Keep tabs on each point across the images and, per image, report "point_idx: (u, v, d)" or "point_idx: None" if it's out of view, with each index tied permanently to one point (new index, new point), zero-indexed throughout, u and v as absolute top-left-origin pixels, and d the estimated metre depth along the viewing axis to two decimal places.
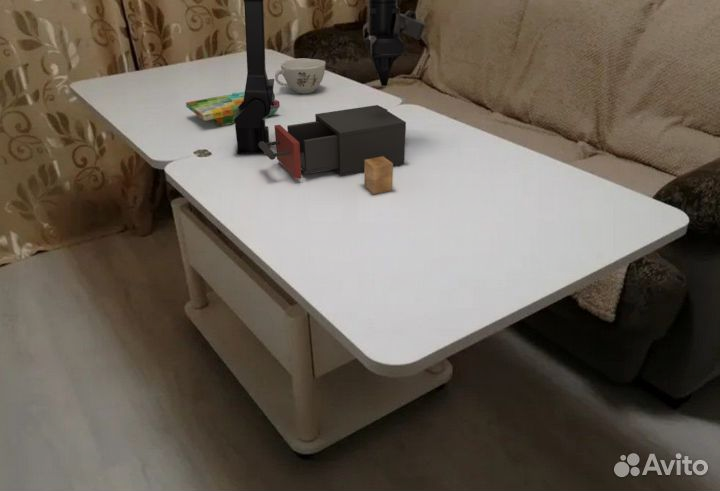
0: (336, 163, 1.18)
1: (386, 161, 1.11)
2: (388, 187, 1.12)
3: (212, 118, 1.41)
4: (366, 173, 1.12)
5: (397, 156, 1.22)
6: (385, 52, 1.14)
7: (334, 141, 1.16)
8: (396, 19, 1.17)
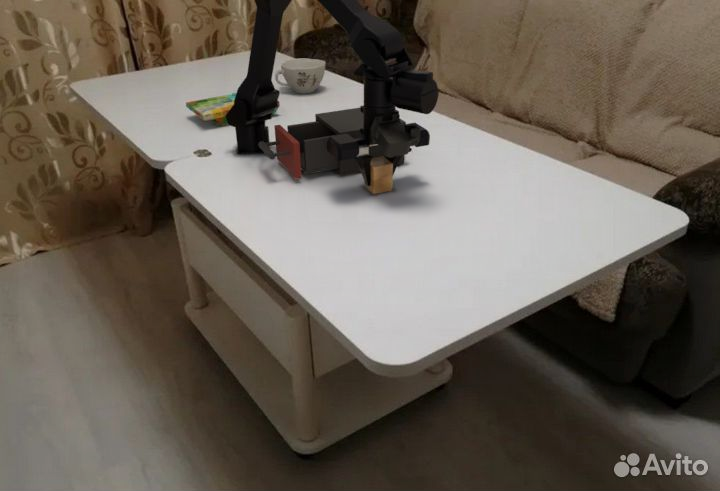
0: (336, 163, 1.18)
1: (386, 161, 1.11)
2: (388, 187, 1.12)
3: (212, 118, 1.41)
4: None
5: None
6: (330, 152, 1.06)
7: None
8: (372, 126, 1.04)
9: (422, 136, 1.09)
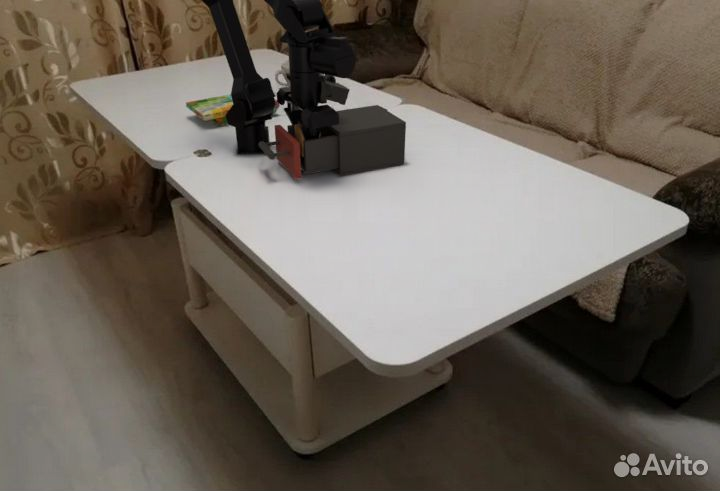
0: (336, 163, 1.18)
1: None
2: None
3: (212, 118, 1.41)
4: None
5: (397, 156, 1.22)
6: (322, 125, 1.08)
7: (334, 141, 1.16)
8: (322, 87, 1.12)
9: None
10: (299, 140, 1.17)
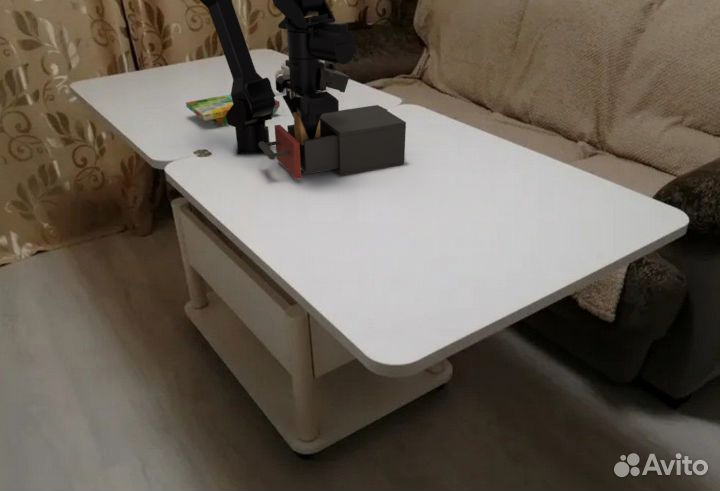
0: (336, 163, 1.18)
1: None
2: None
3: (212, 118, 1.41)
4: None
5: (397, 156, 1.22)
6: (321, 112, 1.07)
7: (334, 141, 1.16)
8: (321, 74, 1.11)
9: None
10: (298, 128, 1.16)
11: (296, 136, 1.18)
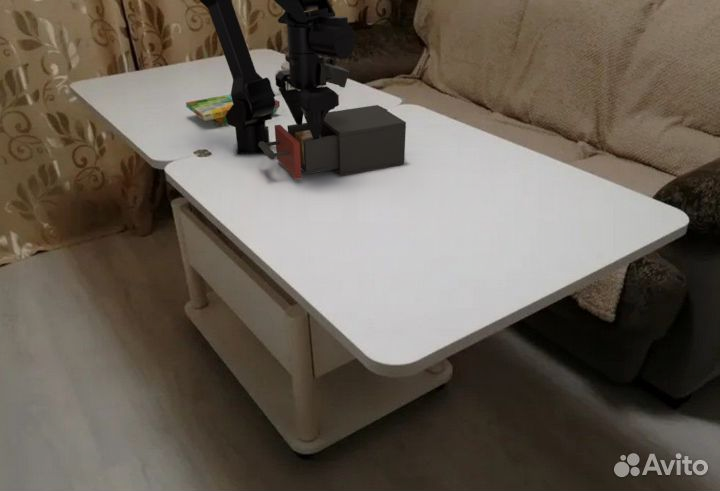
0: (336, 163, 1.18)
1: (307, 131, 1.19)
2: None
3: (212, 118, 1.41)
4: None
5: (397, 156, 1.22)
6: (321, 106, 1.06)
7: (334, 141, 1.16)
8: (321, 69, 1.10)
9: None
10: (300, 148, 1.18)
11: None
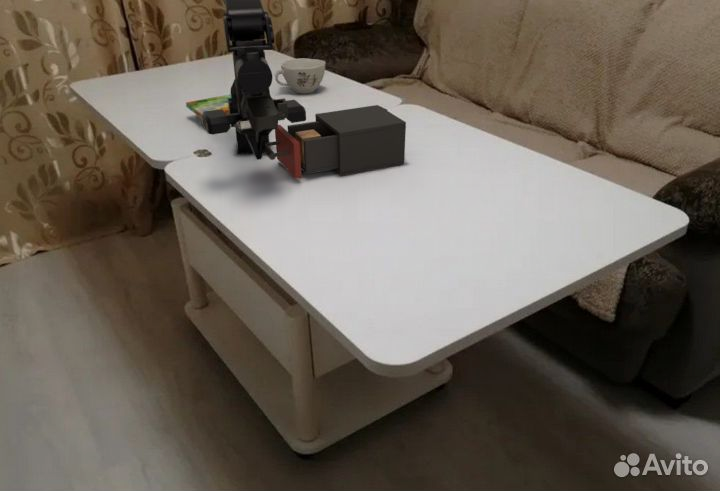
0: (336, 163, 1.18)
1: (307, 131, 1.19)
2: None
3: None
4: None
5: (397, 156, 1.22)
6: (204, 126, 1.09)
7: (334, 141, 1.16)
8: (242, 101, 1.07)
9: (297, 112, 1.12)
10: (300, 148, 1.18)
11: None
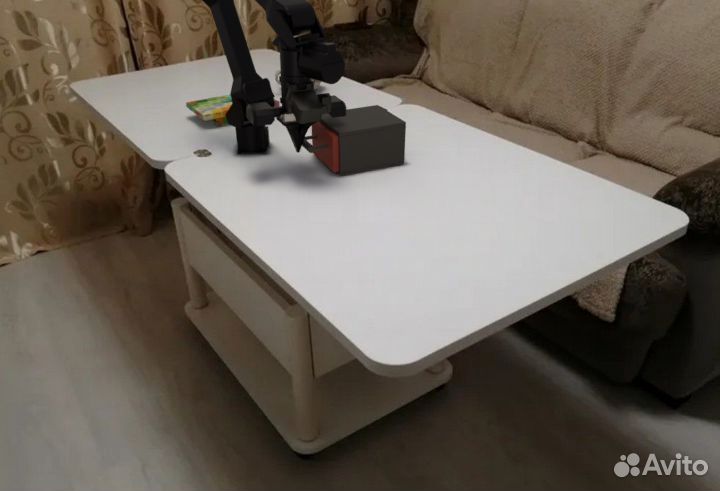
0: None
1: None
2: None
3: (212, 118, 1.41)
4: None
5: (397, 156, 1.22)
6: (249, 118, 1.12)
7: None
8: (287, 94, 1.10)
9: (338, 107, 1.15)
10: None
11: None
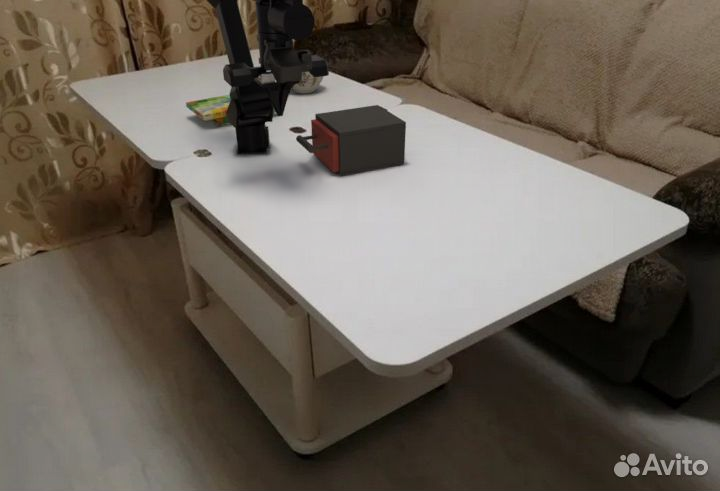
0: None
1: None
2: None
3: (212, 118, 1.41)
4: None
5: (397, 156, 1.22)
6: (226, 80, 1.07)
7: None
8: (265, 52, 1.04)
9: (320, 66, 1.09)
10: None
11: None
